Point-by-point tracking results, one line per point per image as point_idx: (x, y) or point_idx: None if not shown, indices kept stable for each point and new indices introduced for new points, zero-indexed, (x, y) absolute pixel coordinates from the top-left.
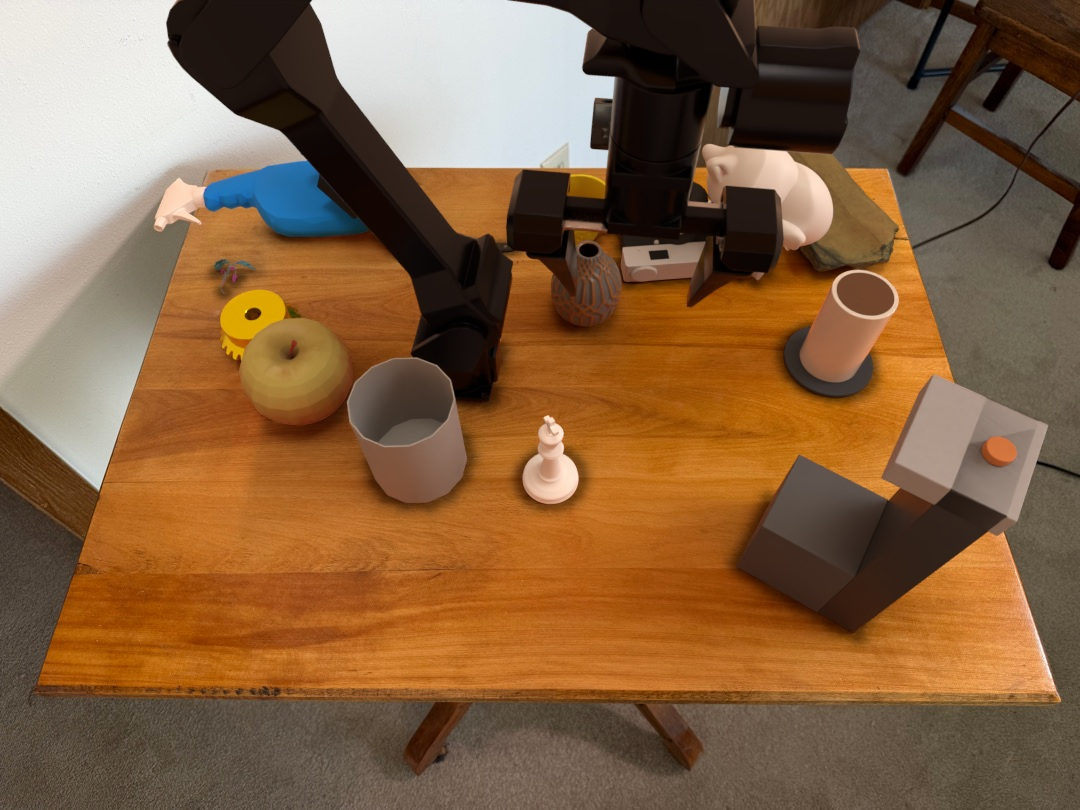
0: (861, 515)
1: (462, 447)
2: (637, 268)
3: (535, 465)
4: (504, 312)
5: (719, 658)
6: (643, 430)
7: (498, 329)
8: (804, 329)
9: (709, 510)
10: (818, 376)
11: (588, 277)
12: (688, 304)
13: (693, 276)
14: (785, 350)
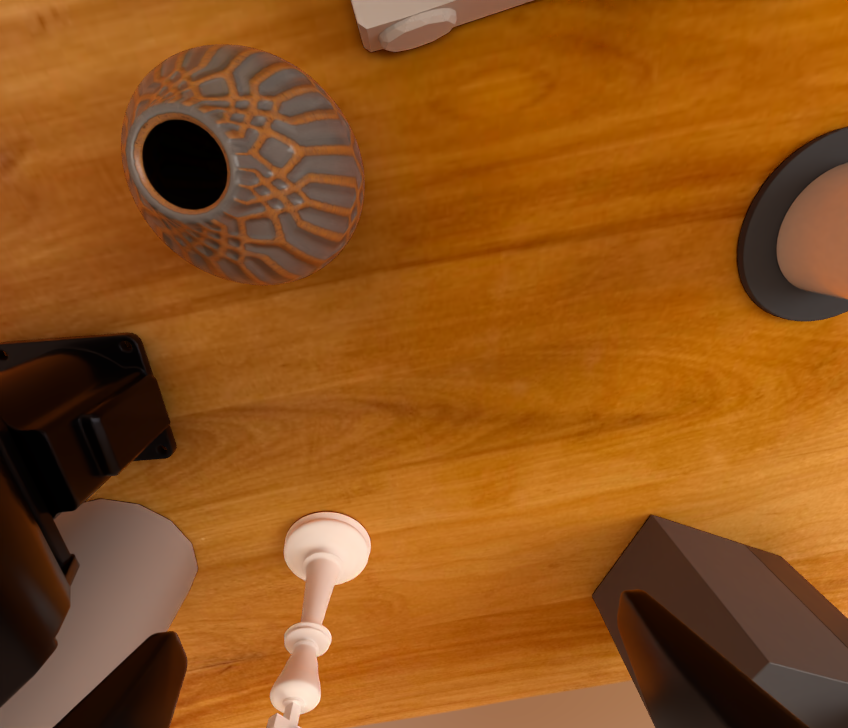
0: (836, 721)
1: (165, 596)
2: (396, 26)
3: (298, 554)
4: (2, 616)
5: (563, 673)
6: (459, 446)
7: (18, 690)
8: (813, 148)
9: (562, 540)
10: (803, 289)
11: (240, 251)
12: (633, 666)
13: (710, 723)
14: (751, 224)
